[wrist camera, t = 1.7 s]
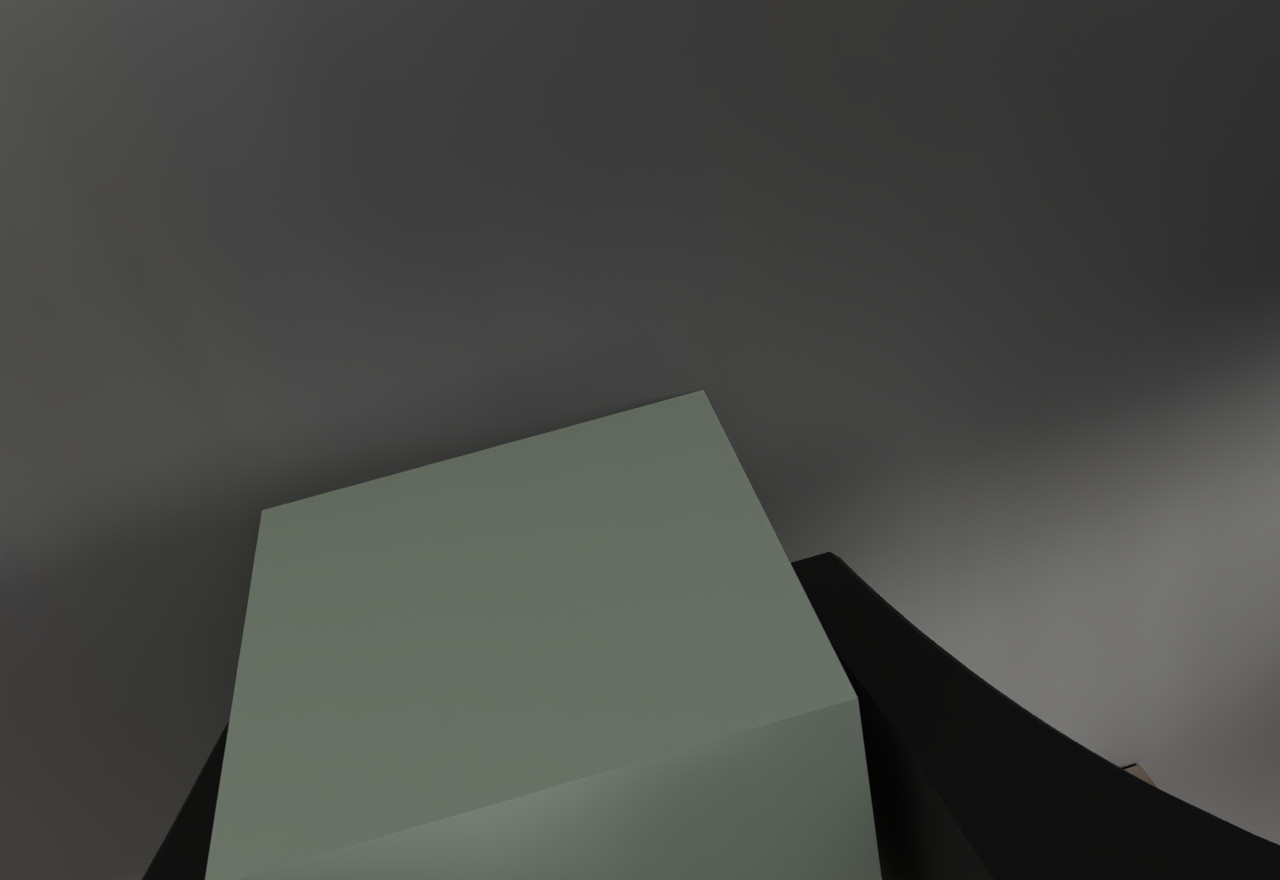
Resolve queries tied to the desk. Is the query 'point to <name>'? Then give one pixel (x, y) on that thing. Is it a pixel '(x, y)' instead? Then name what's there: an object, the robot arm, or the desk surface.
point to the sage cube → (542, 676)
